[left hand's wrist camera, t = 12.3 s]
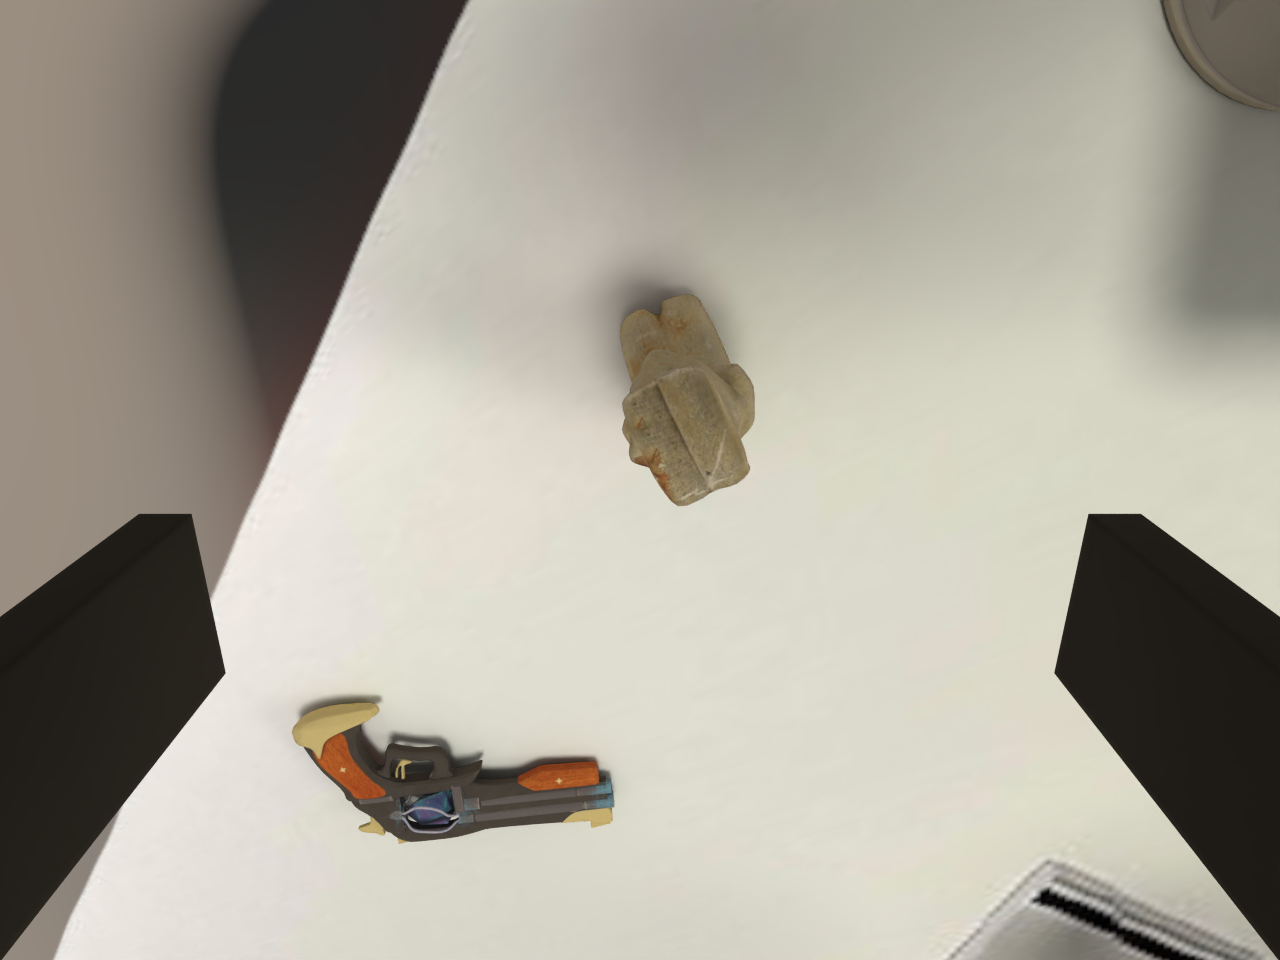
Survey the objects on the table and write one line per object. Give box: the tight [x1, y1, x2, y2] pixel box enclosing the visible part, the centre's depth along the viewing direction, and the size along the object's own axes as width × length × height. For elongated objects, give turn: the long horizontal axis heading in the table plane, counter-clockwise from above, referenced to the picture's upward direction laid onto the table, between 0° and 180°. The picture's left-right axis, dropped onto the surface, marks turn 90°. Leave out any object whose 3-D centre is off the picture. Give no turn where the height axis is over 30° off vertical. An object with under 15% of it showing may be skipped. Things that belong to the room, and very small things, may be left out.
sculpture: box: [620, 295, 755, 506], centre depth 37 cm, size 6×7×15 cm
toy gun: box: [292, 703, 614, 844], centre depth 53 cm, size 3×19×10 cm
